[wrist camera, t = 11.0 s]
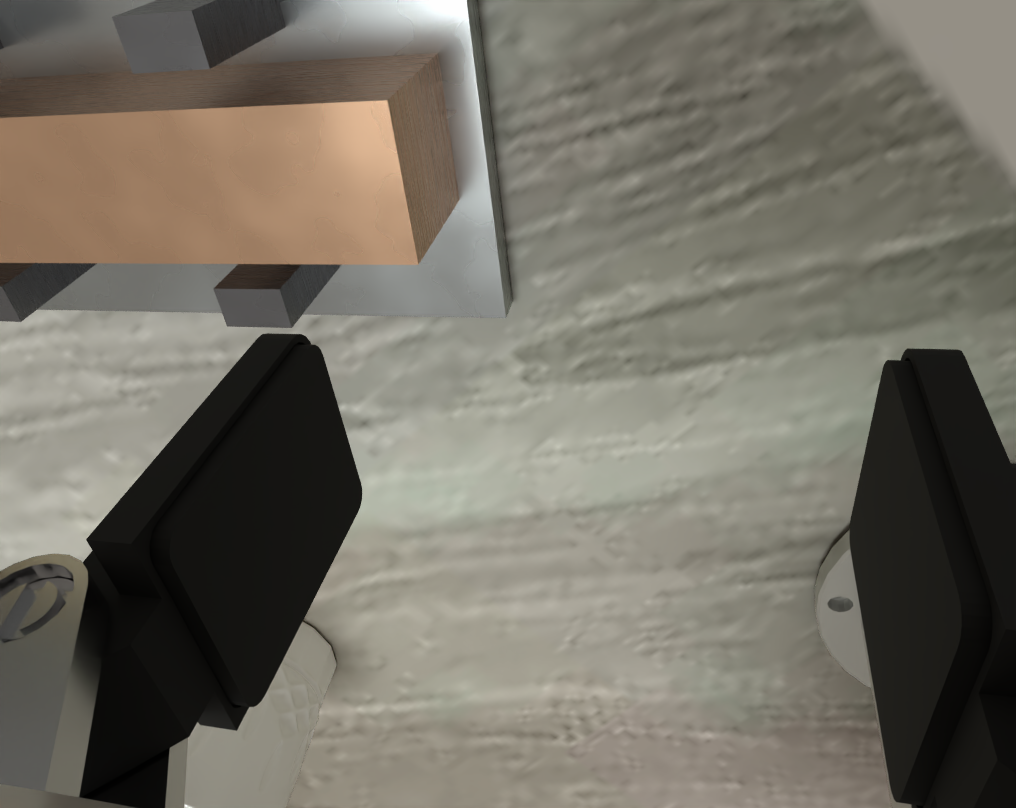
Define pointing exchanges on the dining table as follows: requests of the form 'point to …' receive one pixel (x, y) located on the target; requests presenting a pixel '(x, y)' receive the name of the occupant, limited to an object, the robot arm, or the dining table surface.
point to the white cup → (263, 735)
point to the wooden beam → (228, 164)
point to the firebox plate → (268, 39)
